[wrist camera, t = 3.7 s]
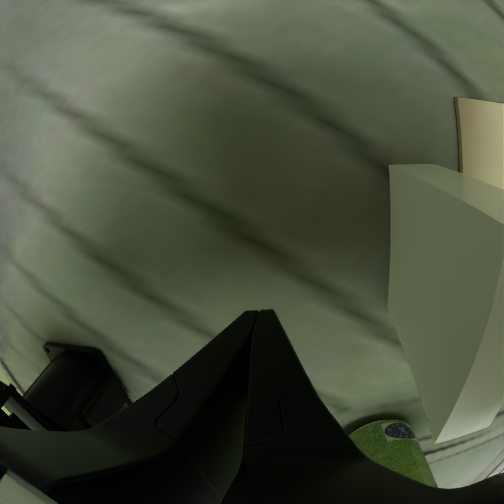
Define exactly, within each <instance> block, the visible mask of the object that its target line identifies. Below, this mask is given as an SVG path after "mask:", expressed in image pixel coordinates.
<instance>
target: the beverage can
mask: <svg viewBox="0 0 504 504" xmlns="http://www.w3.org/2000/svg"><path fill="white" fill-rule="evenodd" d="M349 437H350V438H351V439H352V440H353V442H354V443H355V444H356V445H357V446H358V448H359V449H360V450H361V451H362V452H363V453H364V454H365V455H366V456H368V457H369V458H370V459H372V460H373V461H375V462H377V463H379V464H381V465H383V466H385V467H387V468H390V469H392V470H394V471H396V472H398V473H401V474H403V475H405V476H407V477H410V478H412V479H415V480H417V481H419V482H422V483H424V484H427V485H429V486H433V487H437V484H436V482H435V479H434V477H433V475H432V472H431V470H430V468H429V465H428V463H427V461H426V458H425V456H424V454H423V452H422V449H421V447H420V445H419V443H418V441H417V438H416V436H415V434H414V432H413V430H412V428H411V426H410V424H408V423H407V422H405V421H402V420H379V421H375V422H372V423H369V424H366V425H364V426H362V427H360V428H358V429H357V430H355V431H354V432H353V433H351V434H350V435H349ZM437 488H438V487H437Z"/></svg>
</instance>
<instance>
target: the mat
mask: <svg viewBox="0 0 504 504" xmlns="http://www.w3.org/2000/svg"><path fill="white" fill-rule="evenodd" d="M454 100H455V108H456V117H457V128H458V141H459V164H460V173H462V174H465V175H468V176H470V177H473V178H475V179H478V180H481V181H483V182H486V183H488V184H491V185H493V186H495V187H498V188H500V189H502V190H504V104H501V103H495V102H489V101H483V100H476V99H468V98H459V97H456V98H454Z"/></svg>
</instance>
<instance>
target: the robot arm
mask: <svg viewBox="0 0 504 504" xmlns="http://www.w3.org/2000/svg"><path fill="white" fill-rule="evenodd" d="M43 348H44V350H45V352H46V354H47V356H48V357H49V359H50V361H51V362H50V363H49V364H48V366H47V367H46V368H45V369H44V370H43V372H42V373H41V374H40V375H39V376H38V378H37V379H36V380H35V381H34V382H33V384H32V385H31V386H30V387H29V389H28V390H27V391H26V392H25V394H24V395H23V396H21V395H20V394H19V393H18V392H17V391H16V388H15V387H14V386H13V385H12V384H11V383H10V385H9V386H7V385H6V384H4V383H3V382H1V381H0V504H504V473H500V474H497V475H494V476H492V477H489V478H486V479H484V480H482V481H479V482H477V483H474V484H472V485H469V486H465V487H462V488H453V489H445V488H437V487H433V486H429V485H427V484H424V483H422V482H419V481H417V480H415V479H412V478H410V477H407V476H405V475H403V474H401V473H398V472H396V471H394V470H392V469H390V468H387V467H385V466H383V465H381V464H379V463H377V462H375V461H373V460H372V459H370V458H369V457H368V456H366V455H365V454H364V453H363V452H362V451H361V450H360V449H359V448H358V446H357V445H356V444H355V443H354V442H353V440H352V439H351V438H350V437H349V435H348V434H347V433H346V432H345V430H344V429H343V428H342V427H341V425H340V424H339V423H338V422H337V420H336V419H335V418H334V416H333V415H332V414H331V413H330V411H329V410H328V409H327V407H326V406H325V404H324V403H323V402H322V400H321V399H320V397H319V395H318V394H317V392H316V390H315V389H314V387H313V385H312V383H311V381H310V379H309V377H308V376H307V374H306V372H305V370H304V368H303V366H302V364H301V362H300V360H299V358H298V356H297V354H296V352H295V350H294V348H293V346H292V344H291V342H290V340H289V338H288V336H287V334H286V332H285V331H284V329H283V327H282V325H281V323H280V321H279V319H278V317H277V315H276V313H275V311H274V310H273V309H267V310H260V312H259V311H258V310H250V311H245V312H243V313H242V314H241V315H240V316H239V317H238V318H237V319H236V320H234V321H233V322H232V323H231V324H230V325H229V326H228V327H226V328H225V329H224V330H223V331H222V332H221V333H219V334H218V335H217V336H216V337H215V338H214V339H212V340H211V341H210V342H209V343H208V344H207V345H205V346H204V347H203V348H202V349H201V350H200V351H198V352H197V353H196V354H195V355H194V356H193V357H191V358H190V359H189V360H188V361H187V362H185V363H184V364H183V365H182V366H181V367H179V368H178V369H177V370H176V371H175V372H173V374H171V375H170V376H168V377H167V378H166V379H165V380H164V381H162V382H161V383H160V384H159V385H157V386H156V387H155V388H153V389H152V390H151V391H149V392H148V393H147V394H145V395H144V396H142V397H141V398H139V399H138V400H136V401H135V402H133V403H132V404H131V403H130V401H129V400H128V398H127V396H126V395H125V393H124V392H123V390H122V388H121V387H120V385H119V383H118V382H117V380H116V378H115V376H114V375H113V373H112V371H111V369H110V367H109V366H108V364H107V362H106V360H105V358H104V356H103V355H102V353H101V352H100V351H98V350H97V349H91V348H83V347H76V346H68V345H62V344H55V343H49V342H46V343H45V344H44V345H43ZM2 406H4V407H5V408H6V409H7V410H8V411H9V412H10V413H11V414H10V415H9V416H8V415H7V414H6V413H5V412H4V411H3V410H2V409H1V407H2Z"/></svg>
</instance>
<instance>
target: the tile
mask: <svg viewBox="0 0 504 504" xmlns="http://www.w3.org/2000/svg"><path fill="white" fill-rule="evenodd" d="M389 179H390V205H391V246H390V273H389V290H388V302H387V310H388V312H389V315H390V317H391V319H392V322H393V324H394V327H395V329H396V332H397V334H398V337H399V339H400V342H401V344H402V347H403V350H404V352H405V355H406V358H407V360H408V363H409V366H410V368H411V371H412V374H413V377H414V380H415V383H416V386H417V389H418V392H419V395H420V398H421V401H422V404H423V407H424V410H425V413H426V417H427V420H428V423H429V427H430V430H431V434H432V437H433V441H434V444H436V443H440V442H443V441H447V440H450V439H453V438H457V437H460V436H463V435H466V434H469V433H472V432H475V431H477V430H480V429H483V428H486V427H488V426H489V425H490V423H491V422H492V420H493V419H494V417H495V416H496V414H497V412H498V411H499V409H500V408H501V406H502V404H503V403H504V190H502V189H500V188H498V187H495V186H493V185H491V184H488V183H486V182H483V181H481V180H478V179H475V178H473V177H470V176H468V175H465V174H462V173H459V172H457V171H454V170H451V169H448V168H445V167H442V166H439V165H436V164H402V165H389Z"/></svg>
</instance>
